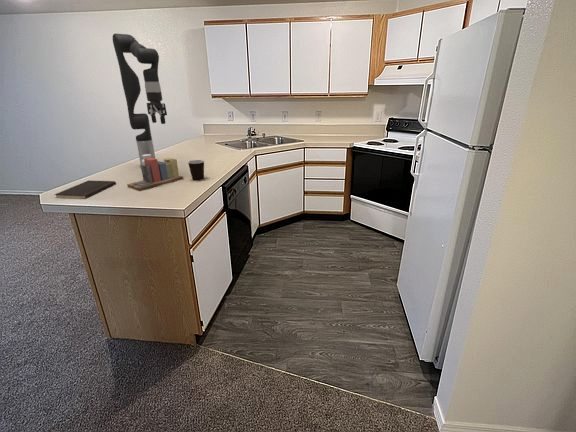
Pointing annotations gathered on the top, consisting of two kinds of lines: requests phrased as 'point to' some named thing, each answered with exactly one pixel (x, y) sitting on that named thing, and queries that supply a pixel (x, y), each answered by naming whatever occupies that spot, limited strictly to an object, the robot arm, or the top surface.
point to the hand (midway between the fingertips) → (158, 123)
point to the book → (153, 168)
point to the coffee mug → (197, 169)
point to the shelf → (167, 175)
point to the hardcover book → (85, 189)
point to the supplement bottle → (145, 157)
